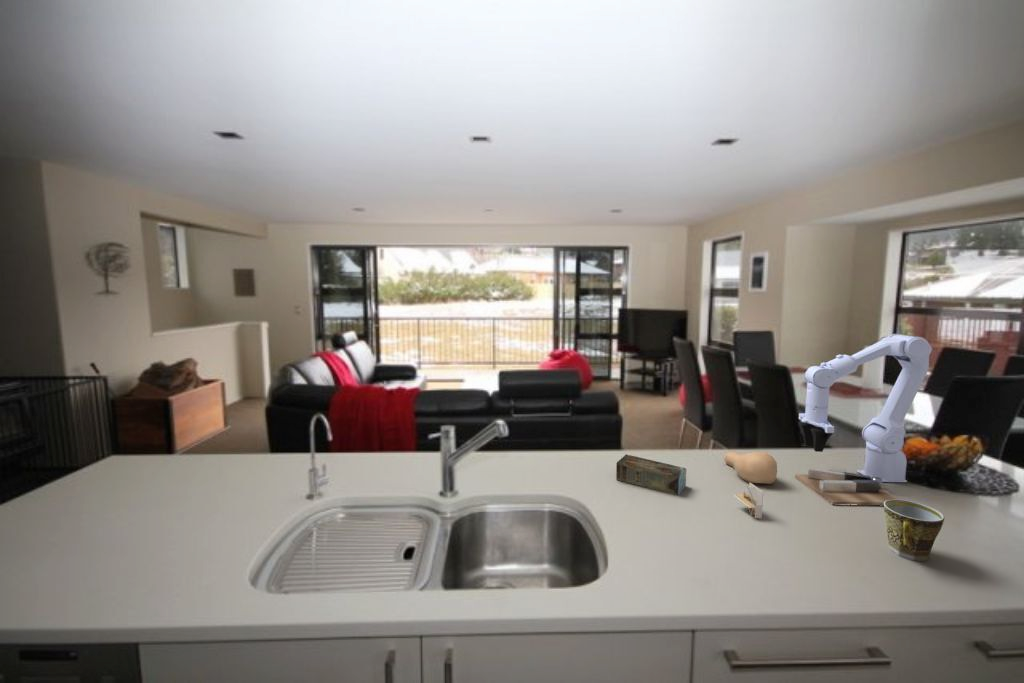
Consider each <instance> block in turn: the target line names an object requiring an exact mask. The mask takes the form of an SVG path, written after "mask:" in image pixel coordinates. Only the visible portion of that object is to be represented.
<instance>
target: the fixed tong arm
mask: <svg viewBox="0 0 1024 683" xmlns="http://www.w3.org/2000/svg"><path fill="white" fill-rule="evenodd" d="M819 489H820V490H821V491H822V492H856V493H879V482H877V481H875V480H852V481H841V480H820V487H819Z"/></svg>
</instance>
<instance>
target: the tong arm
mask: <svg viewBox="0 0 1024 683" xmlns="http://www.w3.org/2000/svg"><path fill="white" fill-rule="evenodd" d="M806 475H807V476H808V478H814V479H820V480H841V481H852V480H875V481H877V482H879V489H881V488H882V485H883V482H882V479H881V478H879V477H870V476H868V475H862V474H860V473H853V472H846V471H844V472H839V471H832V470H827V469H826V470H825V469H820V468H812V467H807V474H806Z"/></svg>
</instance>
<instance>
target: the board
mask: <svg viewBox="0 0 1024 683" xmlns="http://www.w3.org/2000/svg"><path fill="white" fill-rule="evenodd" d="M794 478H795V479H796V478H797V479H796V480H798V481H801V482H800V483H801V484H803V485H804V484H805V486H806V487H807V486H808V487H809V489H810V488H811V489H812V490H811V489H810V490H811V491H813V490H814V491H815V492H816V494H817V493H818V494H819V495H821V496H822V497H823V498H825V499H826V500H828V501H829V502H830V503H832V504H850V505H851V504H857V505H880V506H879V507H884V506H883V505H884V502H885V501H887V500H894V499H895V500H902V498H900V497H898V496H896V495H894V494H892V493H891V492H890V491H887V490H885V488H882V487H881V489H879V493H856V492H822V491H821V490H820V489H819V487H820V479H814V478H808V476H807V474H805V473H804V474H803V473H802V474H799V473H798V474H797V473H796V474H794ZM808 487H807V488H808ZM814 491H813V492H814ZM815 492H814V493H815ZM818 494H817V495H818ZM819 495H818V496H819ZM821 496H820V497H821ZM822 497H821V498H822ZM823 498H822V499H823ZM825 499H824V500H825ZM826 500H825V501H826ZM828 501H827V502H828ZM829 502H828V503H829ZM830 503H829V504H830ZM832 504H831V505H832ZM881 505H882V506H881Z"/></svg>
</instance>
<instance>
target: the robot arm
mask: <svg viewBox="0 0 1024 683" xmlns="http://www.w3.org/2000/svg"><path fill="white" fill-rule="evenodd" d="M932 351H933V348H932V345H930V343H929V341H928V340H927V339H926V338H924V337H921V336H911V335H905V334H900V333H893V334H890V335H889V336H885V337H882V338H881V339H880V340H879V341H878V342H875V343H874V344H872V345H870V346H868V347H865V348H864V349H861V350H860V351H857V352H856V353H854V354H852V355H848V354H837V355H835V358H834V359H831V360H829V361H827V362H824V361H823V362H821V363H820V365H812V366H810V367H809V368H808V369H807V370H806V371H805V373H803V378H804V380H805V382H806V398H805V408H804V409H805V411H804V412H803V413H802V412H799V413H798V419H799V420H800V421H801V422H798V426H799V428H800V430H801V433H802V437H803V441H804V446H806V447H813V451H814V452H816V453H817V452H818V453H819V452H820V453H823V451H824V449H825V447H826V445H827V442H828V441H829V439H830V438H831V436H833V434H834V433H835V426H834V425H832V424H831V422H829V420H828V415H829V414H828V413H829V412H828V411H829V399H830V398H829V397H830V387H832V386H833V385H834V384H835V382H836V381H837V380H839V379H841V378H843V377H845V376H848V375H850V374H853V373H855V372H856V371H857V369H858V368H859V366H861V365H863V364H866V363H869V362H871V361H874V360H877V359H878V358H882V357H884V356H891V357H893V358H895V359H896V360H897V361H898V363H899V365H900V366H901V367H902V369H901V371H900V373H899V375H898V376H897V379H896V381H895V382H894V385H893V387H892V390H891V391H890V393H889V395H888V398H887V399H886V401H885V403H884V405H883V407H882V410H881V412H880V413H879V415H877V416H875V417H873V418H871V420H870V422H869V423H868V424H867V425H865V426H864V427H863V429H862V431H861V435H862V436H861V437H862V439H863V440H864V441H865V455H864V456H865V458H864V459H865V460H864V468H863V469H857V470H856V472H857V474H861V475H868V476H870V477H879V478H881V479H882V483H907V482H908V480H906V475H907V474H906V473H907V460H908V459H907V457H906V456H907V455H906V454H905V453H904V451H902V450H901V449H903V447H904V443H905V441H904V437H905V435H906V430H905V428H904V425H903V422H904V419H905V418H906V416H907V413H908V412H909V410H910V408H911V405H912V404H913V402H914V400H915V397H916V395H917V393H918V391H919V390H920V388H921V385H922V383H923V381H924V380H925V377H926V375H927V374H928V372H929V369H930V368H929V367H930V355H931V353H932Z"/></svg>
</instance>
